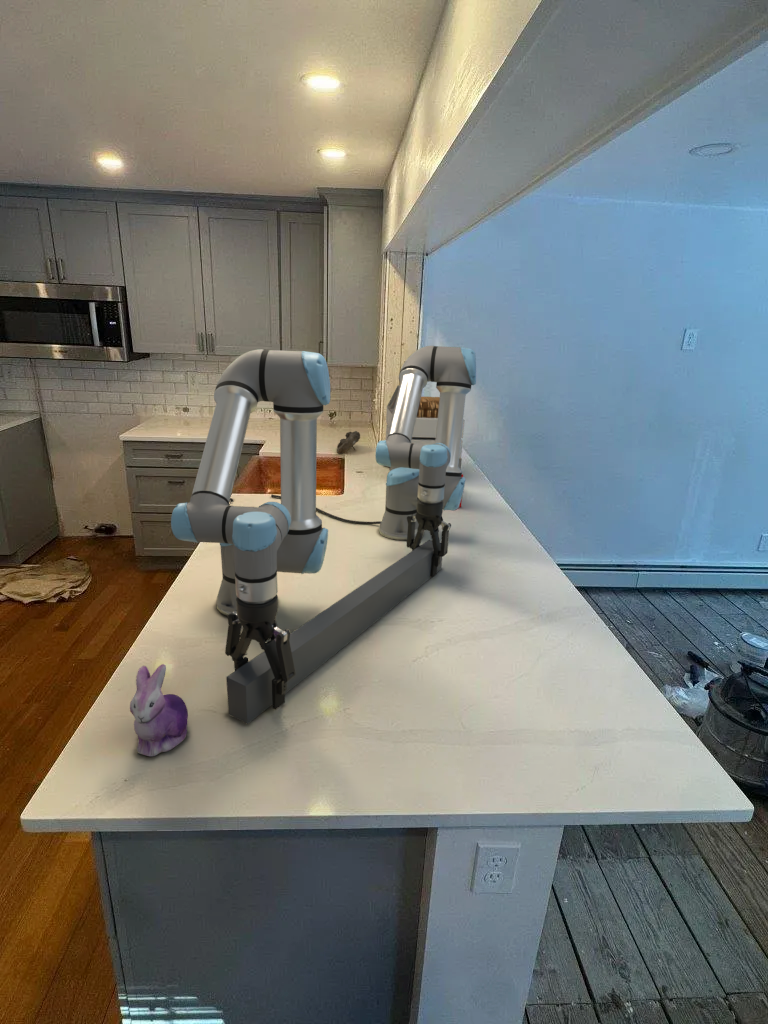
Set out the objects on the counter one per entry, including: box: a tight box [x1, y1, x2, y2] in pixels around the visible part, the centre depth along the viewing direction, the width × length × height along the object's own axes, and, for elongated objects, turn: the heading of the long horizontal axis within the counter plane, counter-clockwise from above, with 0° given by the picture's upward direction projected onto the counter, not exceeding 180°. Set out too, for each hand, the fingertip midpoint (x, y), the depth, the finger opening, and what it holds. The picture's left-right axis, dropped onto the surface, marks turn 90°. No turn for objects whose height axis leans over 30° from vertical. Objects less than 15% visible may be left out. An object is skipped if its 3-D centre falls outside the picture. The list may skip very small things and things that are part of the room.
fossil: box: [336, 430, 361, 454], centre depth 311 cm, size 22×10×15 cm
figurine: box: [129, 663, 189, 757], centre depth 99 cm, size 9×10×15 cm
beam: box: [225, 539, 443, 725], centre depth 140 cm, size 83×5×9 cm, turn 149°
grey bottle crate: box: [384, 384, 465, 472], centre depth 268 cm, size 34×33×41 cm
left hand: (260, 696), depth 113 cm, fingers open, 9 cm apart
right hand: (425, 572), depth 170 cm, fingers closed on beam, 5 cm apart
